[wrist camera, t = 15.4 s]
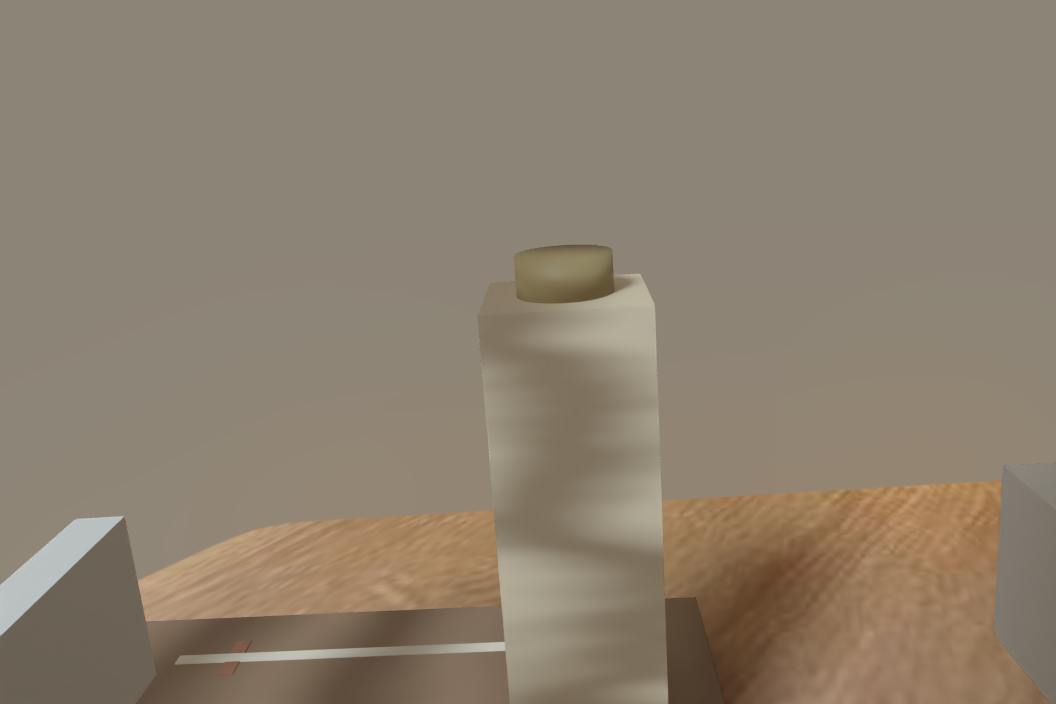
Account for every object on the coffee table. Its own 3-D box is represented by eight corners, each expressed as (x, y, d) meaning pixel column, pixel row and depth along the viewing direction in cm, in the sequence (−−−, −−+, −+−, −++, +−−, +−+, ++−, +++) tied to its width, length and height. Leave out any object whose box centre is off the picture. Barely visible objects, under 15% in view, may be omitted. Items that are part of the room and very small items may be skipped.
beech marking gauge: (648, 654, 31) (631, 224, 27) (683, 870, 22) (665, 281, 19) (526, 659, 31) (493, 233, 28) (513, 875, 22) (463, 294, 19)
